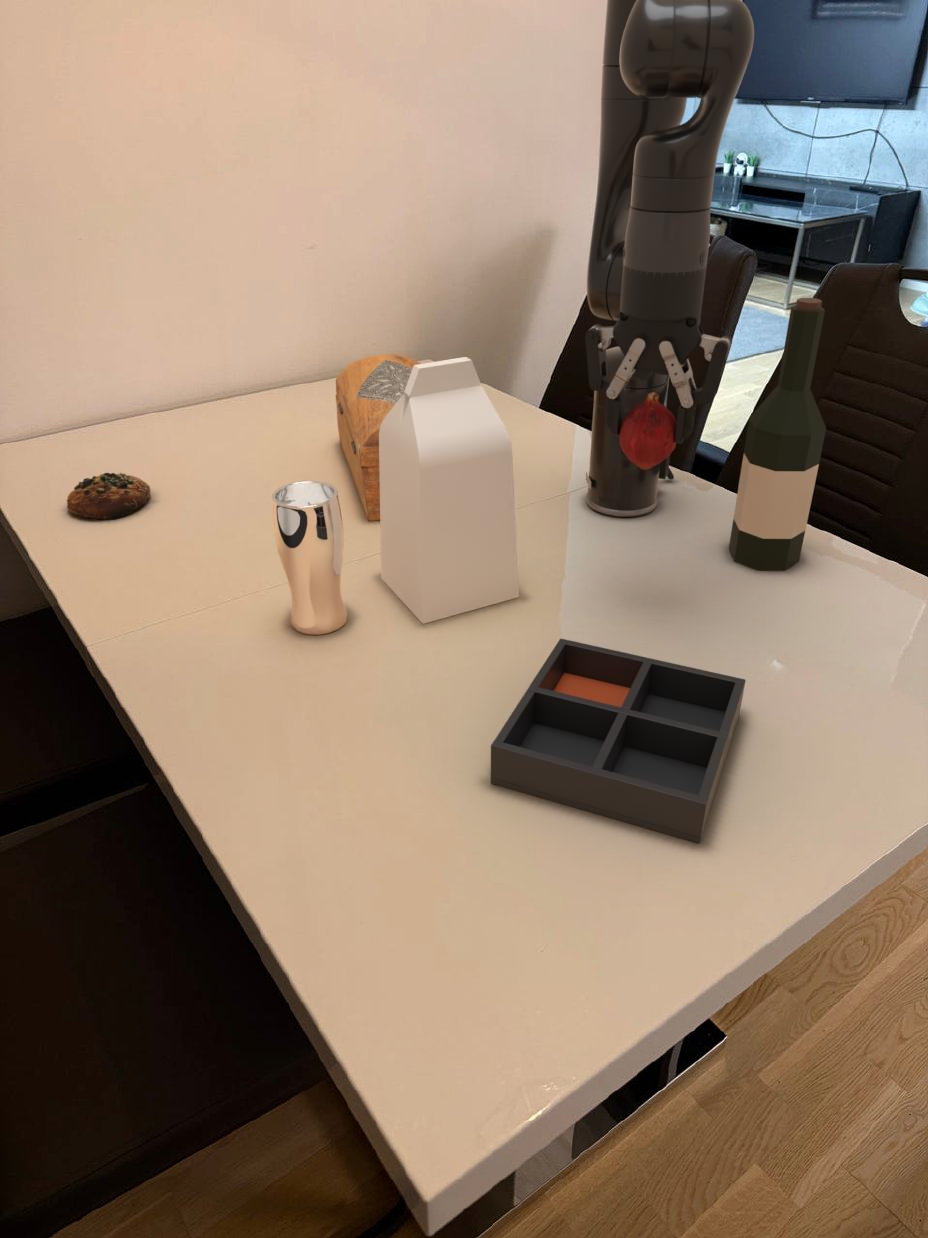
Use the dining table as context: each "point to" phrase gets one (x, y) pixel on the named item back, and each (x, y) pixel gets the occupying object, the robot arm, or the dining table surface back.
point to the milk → (447, 495)
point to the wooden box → (368, 418)
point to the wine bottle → (782, 454)
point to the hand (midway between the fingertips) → (647, 435)
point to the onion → (648, 433)
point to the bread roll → (108, 496)
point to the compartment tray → (621, 737)
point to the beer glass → (311, 553)
